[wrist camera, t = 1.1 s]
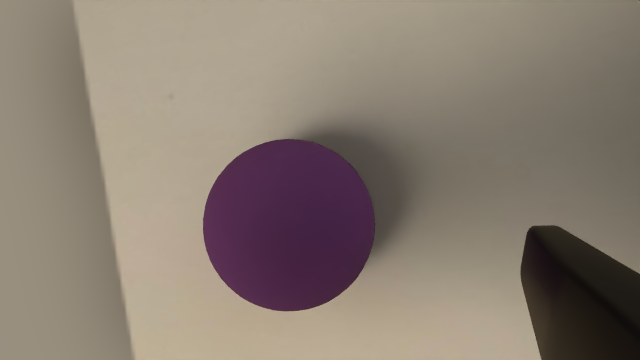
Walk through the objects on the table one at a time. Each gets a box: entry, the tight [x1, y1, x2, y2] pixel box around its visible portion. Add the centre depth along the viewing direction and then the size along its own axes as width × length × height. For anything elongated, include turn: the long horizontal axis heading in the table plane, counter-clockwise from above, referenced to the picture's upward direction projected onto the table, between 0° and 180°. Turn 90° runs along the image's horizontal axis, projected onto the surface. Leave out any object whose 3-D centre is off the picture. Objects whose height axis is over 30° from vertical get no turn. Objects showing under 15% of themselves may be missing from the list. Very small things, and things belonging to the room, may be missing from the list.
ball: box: [203, 139, 375, 311], centre depth 19 cm, size 6×6×6 cm
